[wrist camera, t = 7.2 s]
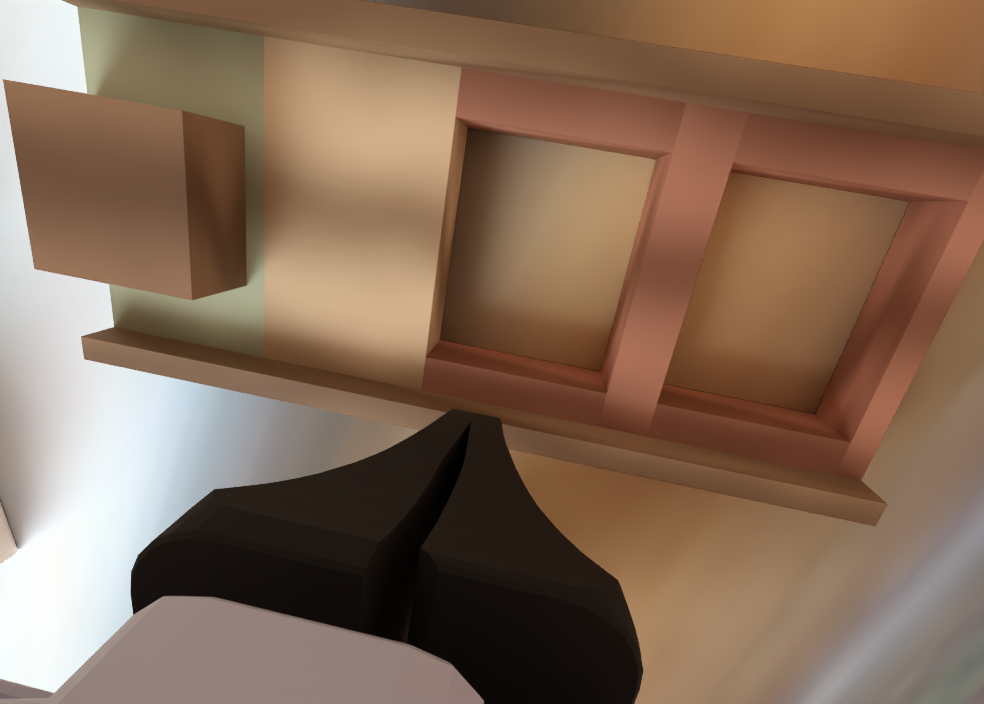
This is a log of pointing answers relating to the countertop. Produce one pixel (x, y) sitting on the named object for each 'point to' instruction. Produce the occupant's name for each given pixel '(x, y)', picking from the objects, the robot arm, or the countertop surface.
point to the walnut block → (130, 191)
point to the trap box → (433, 207)
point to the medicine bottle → (6, 538)
